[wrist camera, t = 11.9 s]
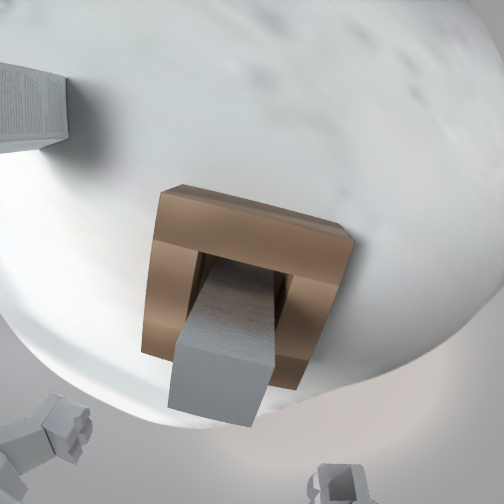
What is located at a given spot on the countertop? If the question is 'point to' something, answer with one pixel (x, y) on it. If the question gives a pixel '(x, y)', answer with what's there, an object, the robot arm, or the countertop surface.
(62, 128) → the skincare box
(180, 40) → the countertop surface
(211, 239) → the walnut socket block
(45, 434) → the robot arm
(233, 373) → the metal peg
